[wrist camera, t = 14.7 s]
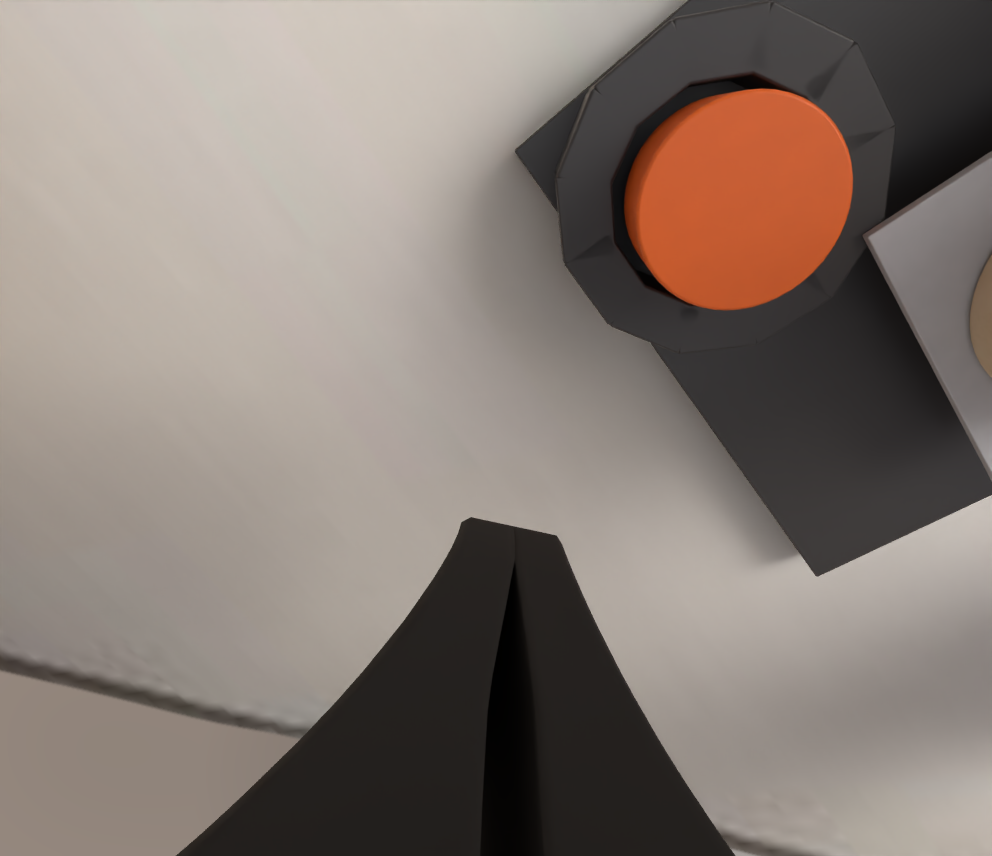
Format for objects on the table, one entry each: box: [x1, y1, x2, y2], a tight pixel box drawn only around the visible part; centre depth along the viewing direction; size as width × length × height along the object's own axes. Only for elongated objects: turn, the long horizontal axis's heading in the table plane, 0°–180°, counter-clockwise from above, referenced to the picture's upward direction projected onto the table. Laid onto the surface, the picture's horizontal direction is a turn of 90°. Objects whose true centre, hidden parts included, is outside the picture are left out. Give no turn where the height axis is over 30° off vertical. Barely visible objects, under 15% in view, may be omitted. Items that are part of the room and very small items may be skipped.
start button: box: [624, 88, 853, 310], centre depth 12 cm, size 4×4×2 cm
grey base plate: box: [515, 0, 992, 576], centre depth 14 cm, size 16×15×3 cm
